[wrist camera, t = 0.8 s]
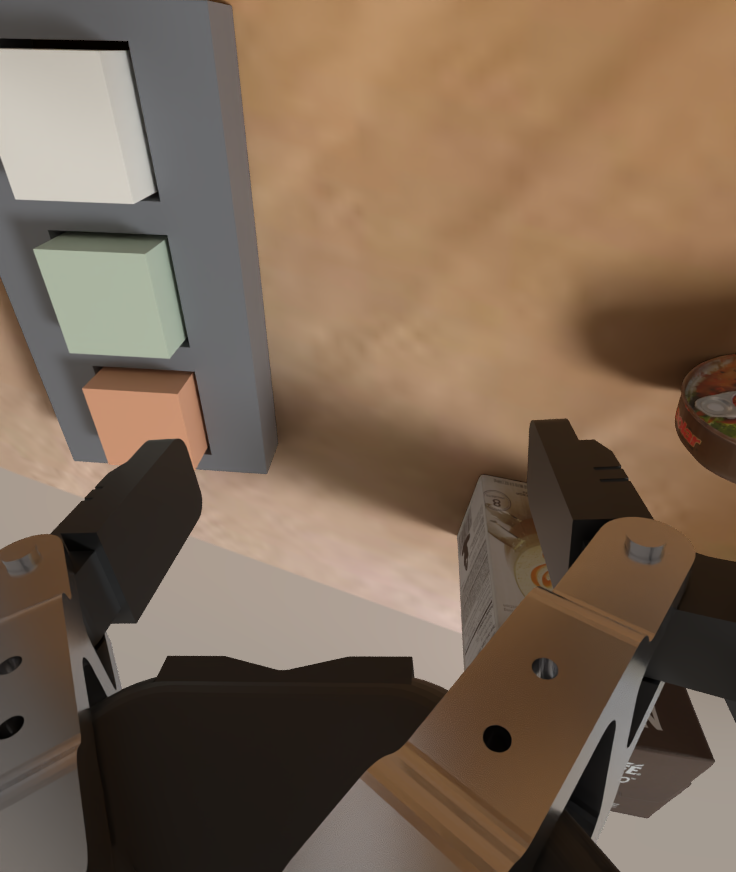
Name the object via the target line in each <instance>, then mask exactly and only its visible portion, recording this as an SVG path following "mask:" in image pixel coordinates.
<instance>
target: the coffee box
mask: <svg viewBox="0 0 736 872" xmlns="http://www.w3.org/2000/svg"><path fill="white" fill-rule="evenodd" d="M457 541H458V558H459V577H460V600H461V619H462V638H463V657H464V671H465V670H466V669H467V667H468V666H469V665H470V664H471V663H472V661H473V660H474V659H475V658H476V656H477V655H478V654H479V653H480V652H481V650H482V649H483V648H484V647H485V645H486V644H487V643H488V642H489V641H490V639H491V638H492V637H493V636H494V634H495V633H496V632H497V631H498V629H499V628H500V627H501V626H502V625H503V623H504V622H505V621H506V620H507V618H508V617H509V616H510V615H511V614H512V612H513V611H514V610H515V609H516V607H517V606H518V605H519V604H520V602H521V601H522V600H523V599H524V598H525V596H526V595H527V594H528V593H529V592H530V591H531V590H532V589H533V588H535V587H537V586H541V587H543V588H545V589H547V590H550V591H552V590H553V586H552V583H551V579H550V576H549V573H548V569H547V566H546V562H545V559H544V555H543V552H542V549H541V545H540V542H539V538H538V535H537V531H536V528H535V525H534V521H533V518H532V514H531V511H530V507H529V501H528V492H527V483H523V482H518V481H513V480H509V479H504V478H498V477H493V476H488V475H481V476H480V477H479V480H478V482H477V485H476V487H475V490H474V493H473V496H472V498H471V501H470V504H469V506H468V509H467V511H466V514H465V516H464V519H463V522H462V525H461V527H460V530H459V533H458V535H457ZM714 762H715V760H714V758H713V755H712V753H711V751H710V748H709V746H708V743H707V740H706V738H705V736H704V733H703V730H702V728H701V725H700V723H699V720H698V718H697V715H696V713H695V710H694V708H693V705H692V703H691V700H690V698H689V695H688V693H687V690H686V688H684V687H681V686H677V685H673V684H670V683H666V682H665V684H664V686H663V688H662V690H661V692H660V694H659V697H658V699H657V701H656V703H655V705H654V707H653V709H652V711H651V714H650V716H649V718H648V720H647V722H646V724H645V726H644V729H643V731H642V733H641V735H640V737H639V739H638V741H637V744H636V746H635V748H634V750H633V752H632V754H631V756H630V759H629V761H628V763H627V765H626V768H625V770H624V773H623V776H622V778H621V781H620V784H619V787H618V791H617V794H616V797H615V799H614V802H613V805H612V807H611V810H610V811H613V812H618V813H623V814H628V815H633V816H638V817H643V818H649V817H650V816H651V815H652V814H653V813H655V812H656V811H657V810H659V809H660V808H661V807H662V806H664V805H665V804H666V803H667V802H669V801H670V800H671V799H673V798H674V797H675V796H677V795H678V794H680V793H681V792H682V791H683V790H685V789H686V788H688V787H689V786H690V785H691V782H692V781H693V780H694V779H695V778H697V777H698V776H699V775H700V774H701V773H703V772H704V771H706V770H707V769H708V768H709V767H711V766H712V765H713V763H714Z"/></svg>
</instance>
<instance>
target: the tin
mask: <svg viewBox="0 0 736 872" xmlns="http://www.w3.org/2000/svg"><path fill="white" fill-rule="evenodd" d="M675 427H676V431H677V434H678V436H679V438H680V440H681V442H682V443H683V445H684V446H685V447H686V449H687V450H688V451H689V452H690V453H691V454H692V455H693V457H694V458H695V459H696V460H697V461H698V462H699V463H700V464H701V465H702V466H704V467H705V468H706V469H708V470H710V471H711V472H713V473H714V474H716V475H718V476H720V477H722V478H724V479H726V480H728V481H730V482H733V483H735V484H736V354H731V355H725V356H720V357H717V358H713V359H710V360H707V361H705V362H703V363H701V364H699V365H697V366H696V367H694V368H693V369H692V370H691V371H690V372H689V373H688V374H687V375H686V377H685V378H684V380H683V383H682V387H681V397H680V400H679V404H678V407H677V411H676V415H675Z"/></svg>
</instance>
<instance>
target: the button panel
mask: <svg viewBox="0 0 736 872" xmlns="http://www.w3.org/2000/svg"><path fill="white" fill-rule="evenodd" d="M32 39H56V40H106V41H128V43H129V48H130V53H131V58H132V63H133V68H134V73H135V78H136V83H137V87H138V92H139V97H140V102H141V107H142V112H143V117H144V122H145V127H146V132H147V137H148V142H149V147H150V152H151V157H152V162H153V167H154V172H155V177H156V182H157V187H158V191H157V192H155V193H153V194H152V195H150V196H148V197H146V198H144V199H142V200H140V201H139V202H137V203H135V204H119V203H94V202H68V201H42V200H16V199H15V197H14V194H13V191H12V188H11V186H10V183H9V180H8V177H7V174H6V171H5V169H4V166H3V163H2V160H1V157H0V277H1V279H2V282H3V284H4V287H5V289H6V292H7V294H8V297H9V299H10V302H11V304H12V307H13V309H14V312H15V314H16V317H17V319H18V322H19V324H20V327H21V329H22V332H23V334H24V337H25V339H26V342H27V344H28V347H29V349H30V352H31V354H32V357H33V359H34V362H35V364H36V367H37V369H38V372H39V374H40V377H41V379H42V382H43V384H44V387H45V389H46V392H47V394H48V397H49V399H50V402H51V404H52V407H53V409H54V412H55V414H56V417H57V419H58V422H59V424H60V427H61V429H62V431H63V434H64V436H65V439H66V441H67V444H68V446H69V449H70V451H71V454H72V456H73V459H74V461H83V462H98V463H108V461H107V458H106V455H105V452H104V449H103V446H102V444H101V441H100V438H99V435H98V432H97V429H96V427H95V424H94V421H93V418H92V415H91V412H90V410H89V407H88V404H87V401H86V398H85V395H84V393H83V390H82V388H83V387H84V386H85V385H86V384H87V383H88V382H89V381H90V380H91V379H92V378H93V377H94V376H95V375H96V374H97V373H98V372H99V371H100V370H101V369H102V368H103V367H104V366H105V367H123V368H140V369H157V370H175V371H192V372H195V375H196V380H197V385H198V390H199V395H200V400H201V405H202V410H203V414H204V419H205V424H206V429H207V434H208V439H209V446H208V448H207V449H206V451H205V453H204V455H203V457H202V459H201V460H200V462H199V464H198V466H197V468H196V469H200V470H214V471H229V472H243V473H258V474H267V473H268V470H269V468H270V465H271V462H272V459H273V457H274V454H275V451H276V448H277V446H278V438H277V429H276V419H275V410H274V400H273V391H272V381H271V372H270V362H269V353H268V343H267V334H266V325H265V315H264V306H263V296H262V287H261V277H260V268H259V258H258V249H257V239H256V230H255V221H254V211H253V202H252V192H251V183H250V173H249V164H248V154H247V145H246V135H245V126H244V116H243V107H242V98H241V88H240V79H239V69H238V60H237V50H236V41H235V31H234V22H233V12H232V6H231V5H226V4H221V3H217V2H212V1H207V0H0V48H34V46H33V42H32ZM67 231H84V232H108V233H131V234H155V235H167V236H168V241H169V246H170V251H171V256H172V261H173V266H174V271H175V276H176V281H177V286H178V291H179V296H180V301H181V305H182V310H183V315H184V320H185V325H186V330H187V335H188V337H187V338H186V339H185V340H184V342H183V343H182V344H181V345H180V347H179V348H178V349H177V350H176V351H175V353H174V354H173V355H172V356H171V358H170V359H165V358H148V357H130V356H112V355H94V354H77V353H69V350H68V347H67V344H66V342H65V339H64V336H63V333H62V330H61V327H60V325H59V322H58V319H57V316H56V313H55V310H54V308H53V305H52V302H51V299H50V296H49V293H48V291H47V288H46V285H45V282H44V279H43V276H42V274H41V271H40V268H39V265H38V262H37V259H36V257H35V254H34V251H33V249H34V248H36V247H38V246H40V245H42V244H44V243H46V242H47V241H49V240H51V239H53V238H55V237H57V236H59V235H61V234H63V233H65V232H67Z"/></svg>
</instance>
